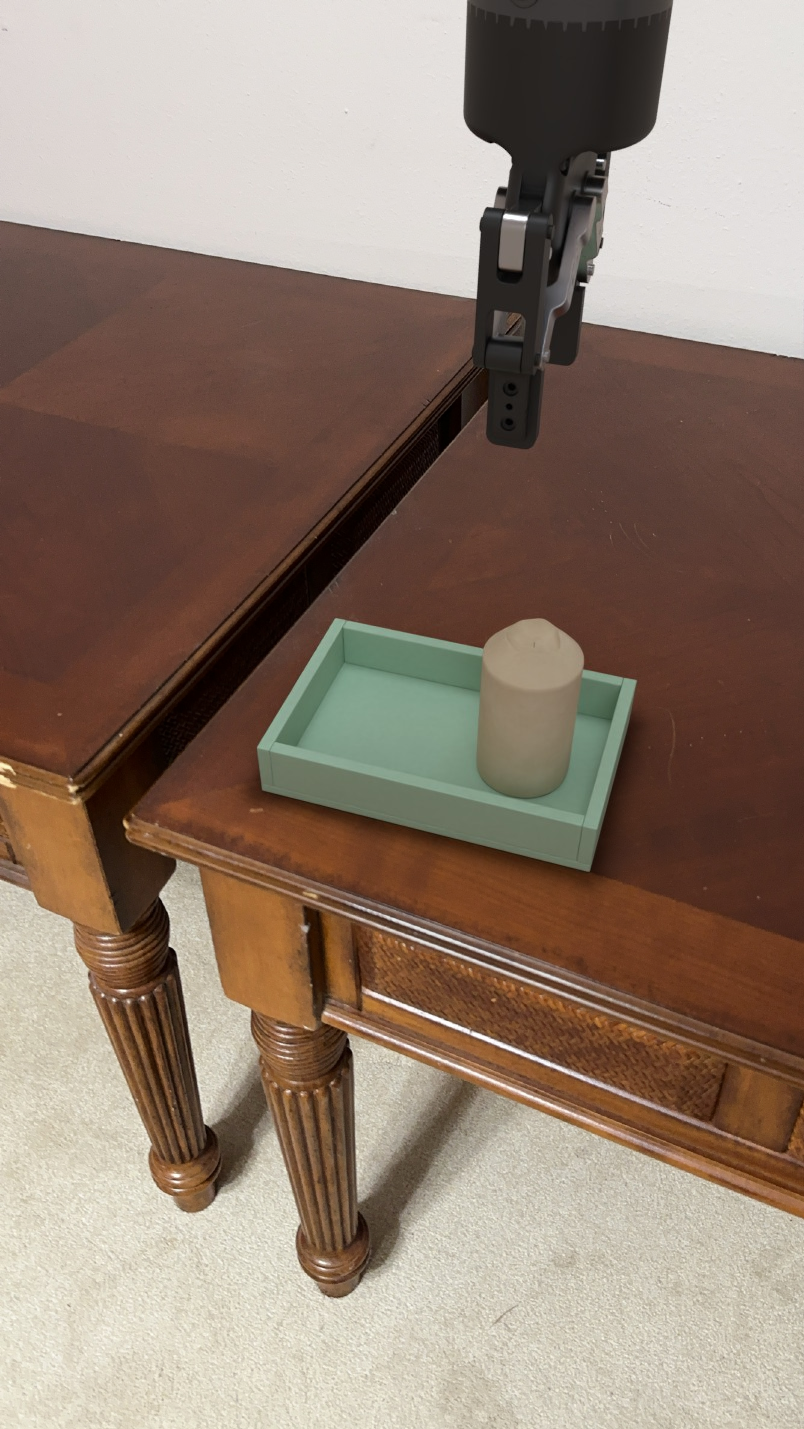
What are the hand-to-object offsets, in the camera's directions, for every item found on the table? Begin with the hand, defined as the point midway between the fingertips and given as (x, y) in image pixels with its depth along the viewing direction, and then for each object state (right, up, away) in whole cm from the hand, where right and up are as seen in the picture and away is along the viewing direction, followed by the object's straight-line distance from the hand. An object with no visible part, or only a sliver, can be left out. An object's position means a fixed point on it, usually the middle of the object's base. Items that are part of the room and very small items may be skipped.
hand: (534, 399), depth 51 cm
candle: (+1, -18, +15) cm, 23 cm away
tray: (-3, -17, +16) cm, 24 cm away
